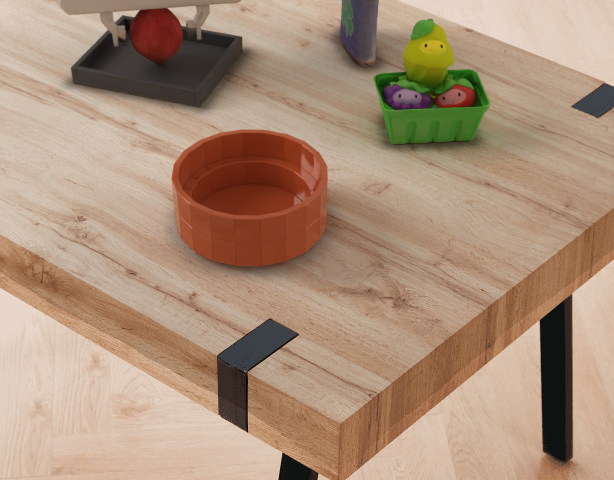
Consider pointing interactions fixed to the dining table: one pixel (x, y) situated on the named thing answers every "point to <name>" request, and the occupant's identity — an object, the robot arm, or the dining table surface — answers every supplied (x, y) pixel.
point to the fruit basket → (430, 92)
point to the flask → (359, 30)
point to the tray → (159, 67)
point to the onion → (156, 34)
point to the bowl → (250, 197)
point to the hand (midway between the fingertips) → (157, 41)
